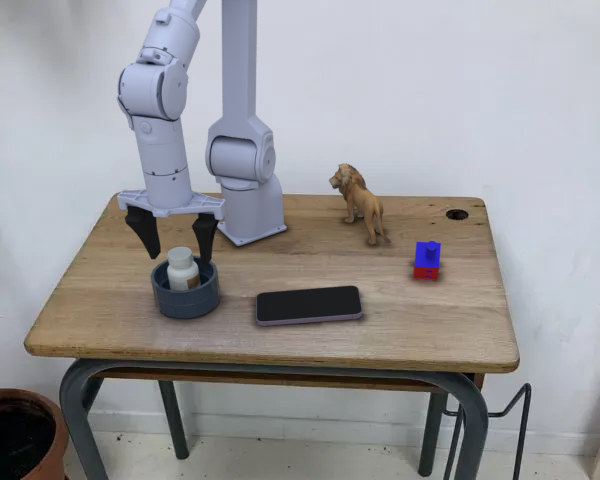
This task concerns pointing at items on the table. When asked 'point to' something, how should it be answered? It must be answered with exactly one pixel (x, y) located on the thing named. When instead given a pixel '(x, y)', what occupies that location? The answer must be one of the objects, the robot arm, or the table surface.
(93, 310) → the table surface
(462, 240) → the table surface
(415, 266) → the toy building block
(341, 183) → the lion figurine
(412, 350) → the table surface
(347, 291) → the smartphone
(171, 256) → the pill bottle
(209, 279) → the bowl
